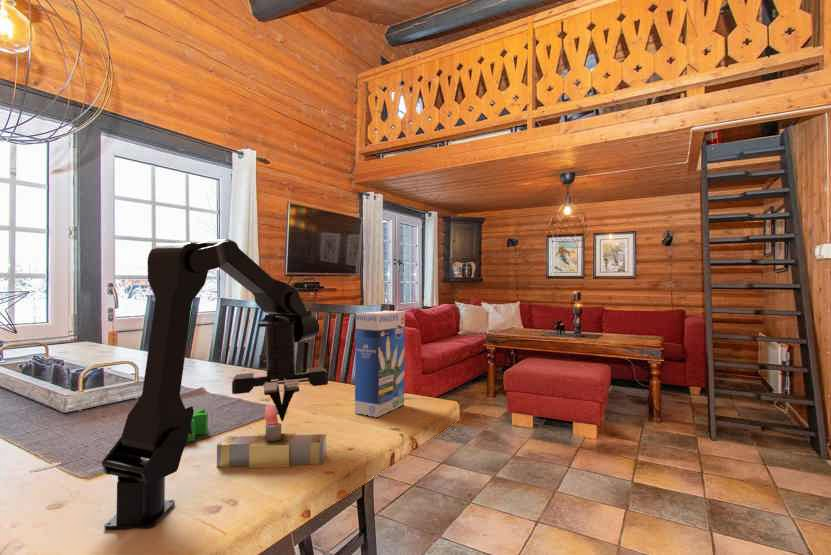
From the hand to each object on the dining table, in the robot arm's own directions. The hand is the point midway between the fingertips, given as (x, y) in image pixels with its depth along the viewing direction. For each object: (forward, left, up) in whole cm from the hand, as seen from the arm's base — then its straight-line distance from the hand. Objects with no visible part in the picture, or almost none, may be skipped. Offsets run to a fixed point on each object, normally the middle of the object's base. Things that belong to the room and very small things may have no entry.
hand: (282, 420), depth 89 cm
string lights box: (+22, -21, -5) cm, 30 cm away
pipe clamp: (+4, +20, -5) cm, 21 cm away
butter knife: (-1, +32, -5) cm, 32 cm away
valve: (-9, -1, -4) cm, 10 cm away
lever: (-4, +1, 0) cm, 4 cm away
